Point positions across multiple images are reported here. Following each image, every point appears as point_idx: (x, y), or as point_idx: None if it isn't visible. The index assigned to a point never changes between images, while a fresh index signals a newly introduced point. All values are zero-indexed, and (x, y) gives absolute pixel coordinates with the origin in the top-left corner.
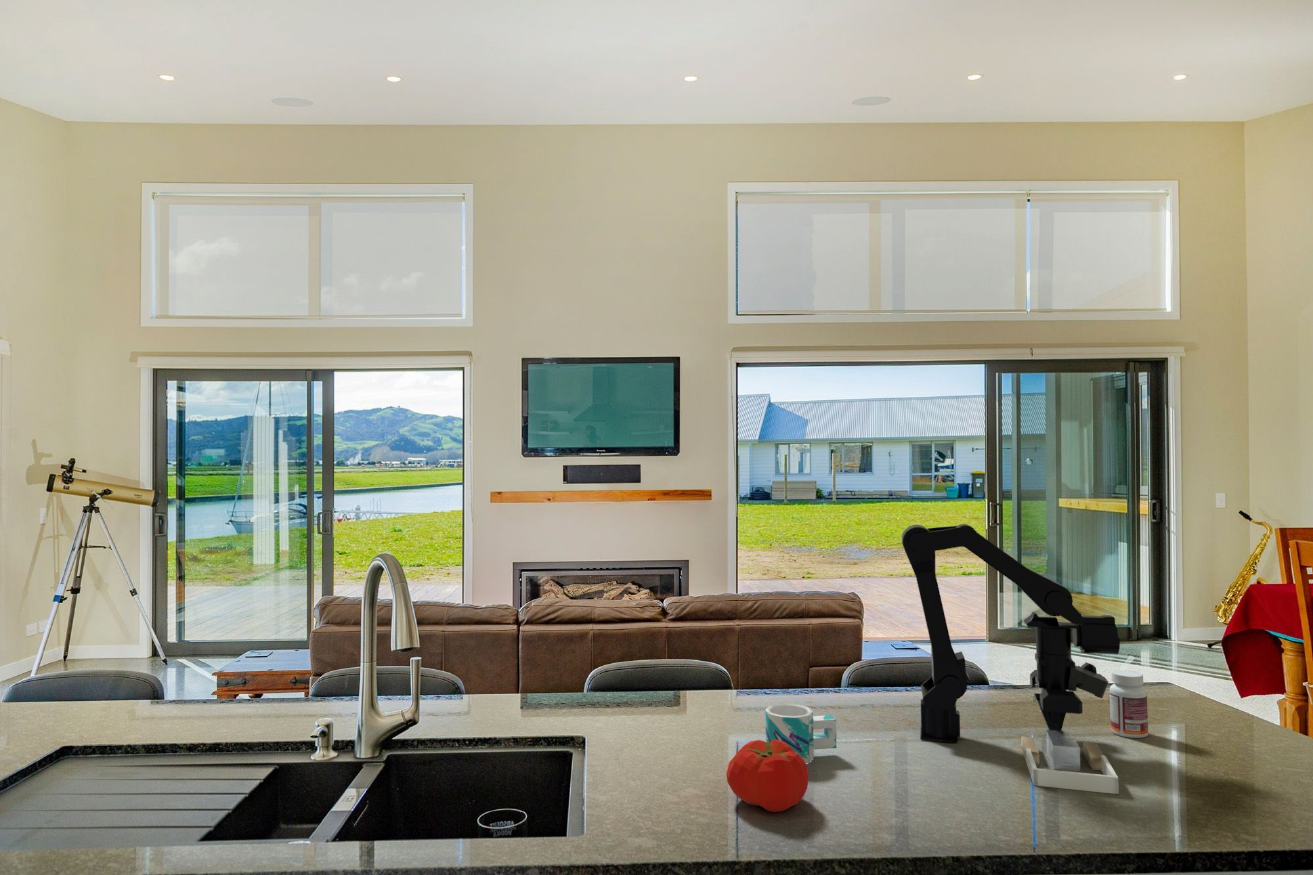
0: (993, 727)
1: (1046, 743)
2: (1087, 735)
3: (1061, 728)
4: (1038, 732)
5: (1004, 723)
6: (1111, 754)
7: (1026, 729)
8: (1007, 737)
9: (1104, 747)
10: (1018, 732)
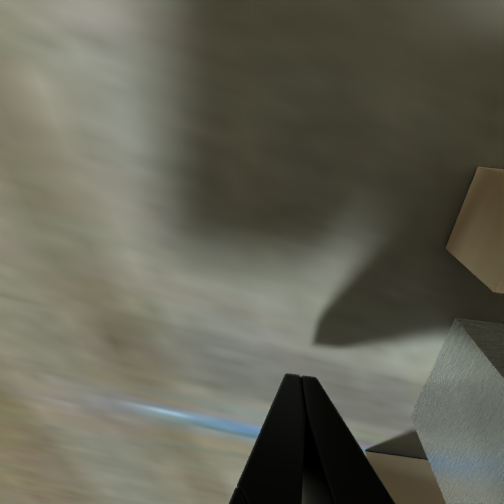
0: (92, 499)
1: (429, 462)
2: (4, 94)
3: (360, 450)
4: (85, 372)
5: (11, 458)
6: (484, 22)
7: (59, 407)
8: (214, 490)
9: (291, 32)
10: (124, 444)
